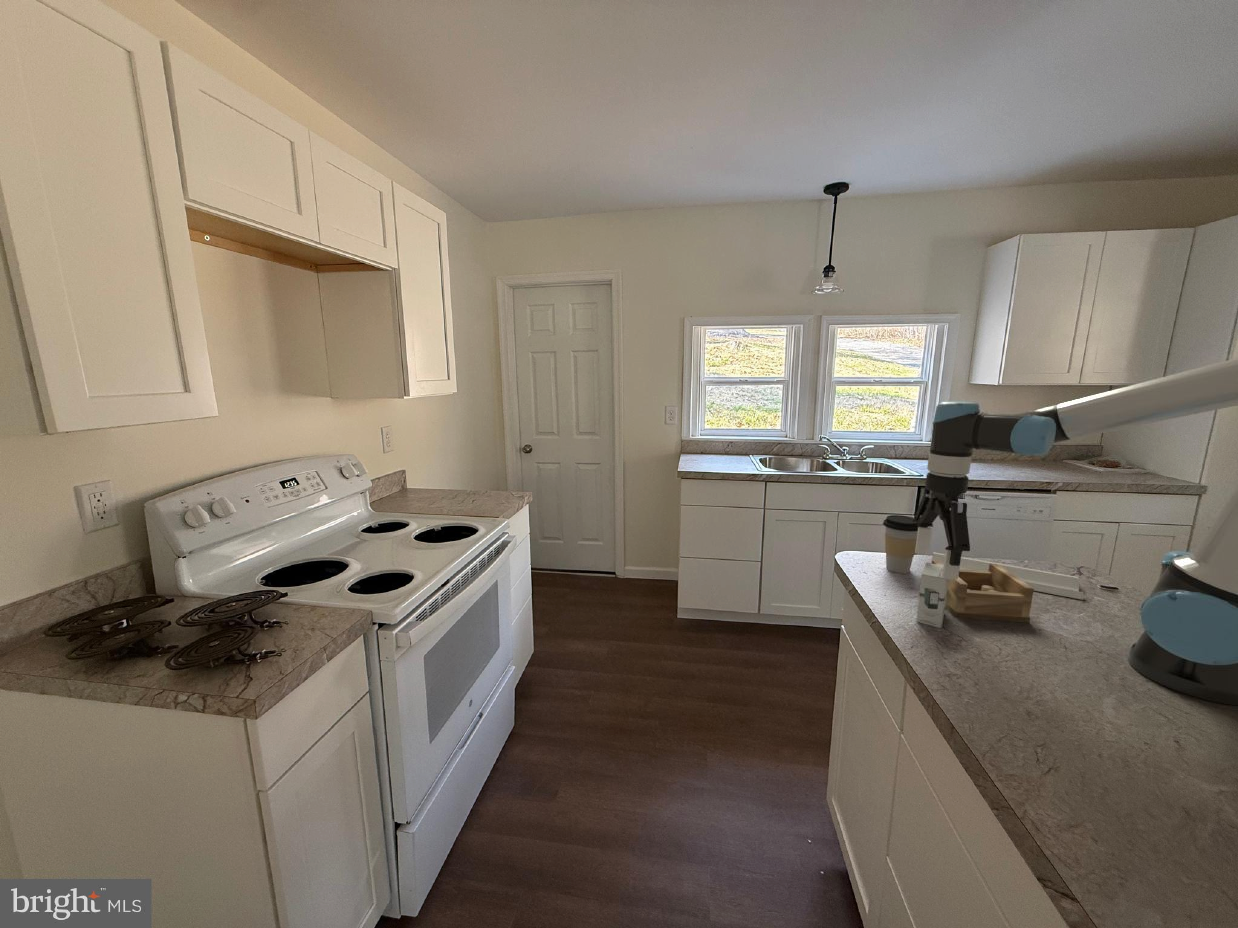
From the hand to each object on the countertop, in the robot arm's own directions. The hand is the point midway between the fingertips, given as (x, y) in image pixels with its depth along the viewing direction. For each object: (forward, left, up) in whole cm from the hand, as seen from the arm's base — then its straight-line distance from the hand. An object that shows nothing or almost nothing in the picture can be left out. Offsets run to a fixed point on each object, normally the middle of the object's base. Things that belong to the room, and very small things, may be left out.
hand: (934, 565), depth 106 cm
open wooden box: (+8, -13, -13) cm, 20 cm away
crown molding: (+26, -28, -14) cm, 41 cm away
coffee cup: (+28, -3, -13) cm, 31 cm away
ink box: (0, 0, -13) cm, 13 cm away
